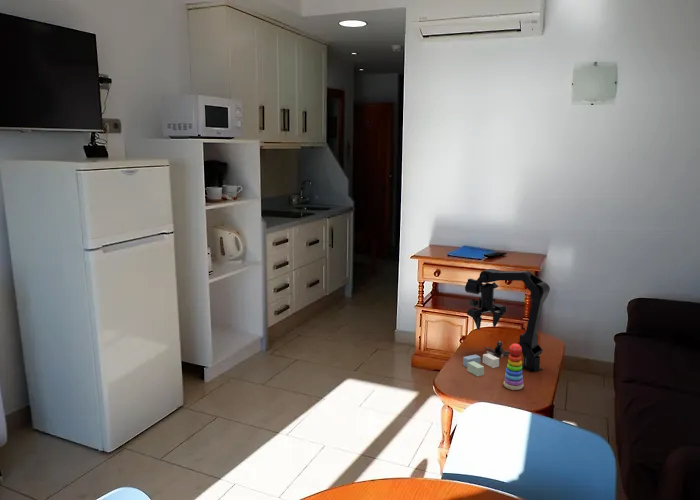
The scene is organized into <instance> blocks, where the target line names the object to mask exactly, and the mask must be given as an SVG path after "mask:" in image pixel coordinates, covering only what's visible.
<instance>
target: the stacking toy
mask: <svg viewBox="0 0 700 500" xmlns="http://www.w3.org/2000/svg"><path fill="white" fill-rule="evenodd" d="M508 351H509V352H510V355H509V356H508V359H507V365H506V368H505V373H504V381H503V386H504V387H505V388H506V389H509V390H513V391H520V390H522V389H523V388H524V378H523V377H524V376H523V368H522V366H523V361H522V356H521V354H522V348H521V346H520V345H519V344H518V343H511V345H510V346H509V347H508Z"/></svg>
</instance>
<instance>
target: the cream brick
mask: <svg viewBox="0 0 700 500" xmlns="http://www.w3.org/2000/svg"><path fill="white" fill-rule="evenodd" d="M482 363H483V364H484V365H486V366H489V367H490V368H492V369H494V368H498V367H500V357H495V356H493V355H491V354H489V353H484V354H482Z"/></svg>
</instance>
